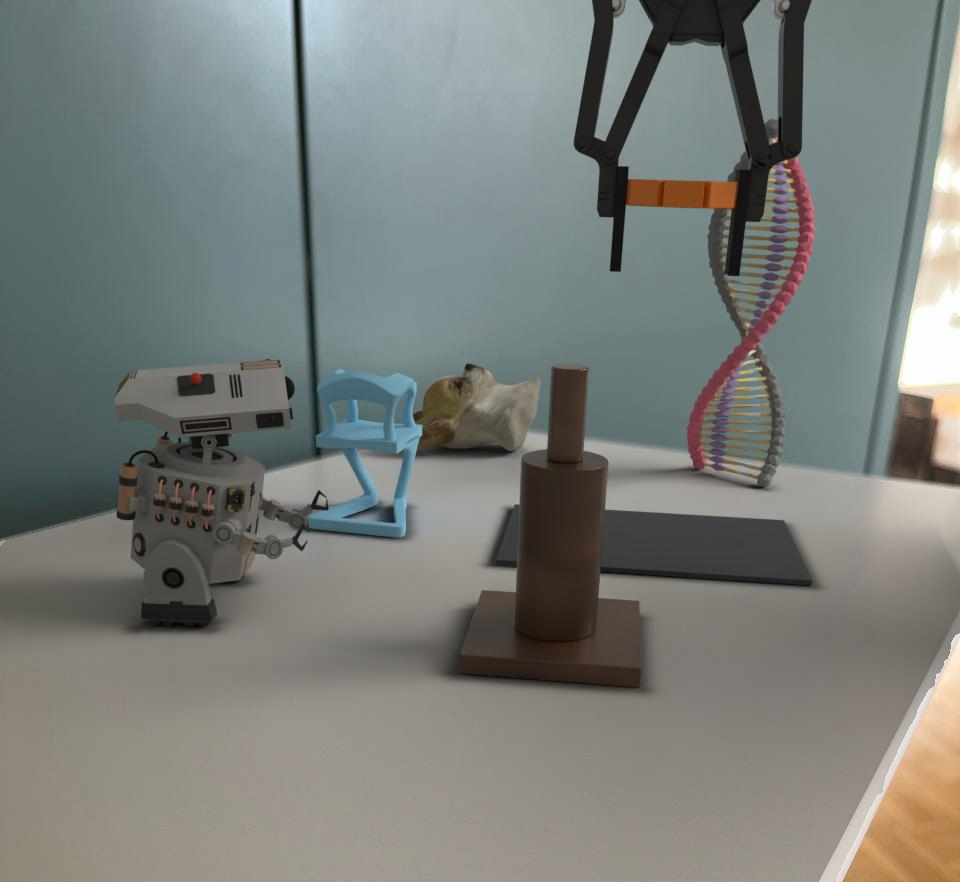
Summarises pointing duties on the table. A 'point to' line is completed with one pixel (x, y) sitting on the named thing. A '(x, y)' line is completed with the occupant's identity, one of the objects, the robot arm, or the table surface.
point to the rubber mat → (689, 547)
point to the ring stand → (558, 567)
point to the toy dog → (477, 411)
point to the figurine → (201, 481)
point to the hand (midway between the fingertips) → (673, 271)
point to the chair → (368, 445)
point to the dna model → (753, 323)
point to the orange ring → (682, 194)
